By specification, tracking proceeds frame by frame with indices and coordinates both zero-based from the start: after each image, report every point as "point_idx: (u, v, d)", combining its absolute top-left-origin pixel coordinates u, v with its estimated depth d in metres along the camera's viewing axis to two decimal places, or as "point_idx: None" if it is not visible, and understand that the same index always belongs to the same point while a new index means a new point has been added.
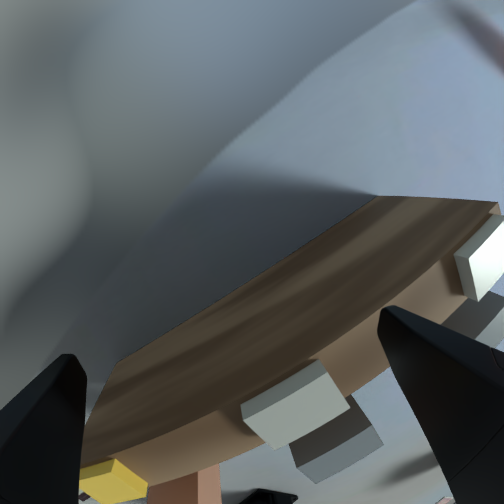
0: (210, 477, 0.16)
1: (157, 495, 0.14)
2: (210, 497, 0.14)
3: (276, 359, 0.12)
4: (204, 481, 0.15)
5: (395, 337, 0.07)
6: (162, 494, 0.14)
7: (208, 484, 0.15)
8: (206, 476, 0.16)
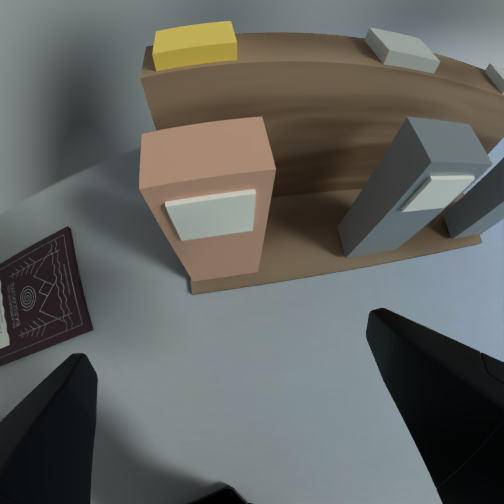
0: None
1: None
2: None
3: None
4: None
5: (383, 341, 0.07)
6: None
7: None
8: None
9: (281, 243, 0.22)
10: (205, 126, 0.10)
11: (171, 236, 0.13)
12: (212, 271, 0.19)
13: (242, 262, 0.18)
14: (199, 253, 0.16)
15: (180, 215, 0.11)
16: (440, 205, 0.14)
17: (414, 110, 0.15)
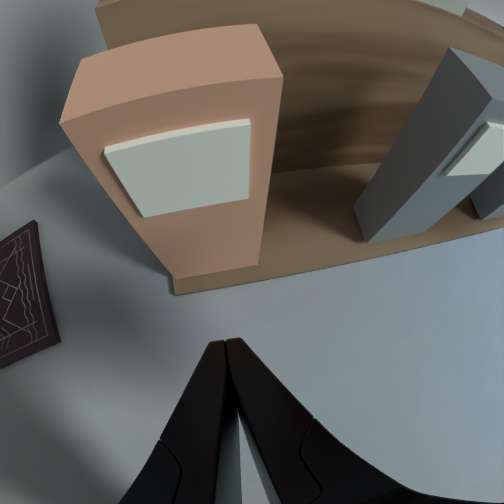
0: None
1: None
2: None
3: None
4: None
5: None
6: None
7: None
8: None
9: (285, 227, 0.18)
10: (171, 37, 0.06)
11: (129, 211, 0.08)
12: (198, 265, 0.14)
13: (237, 251, 0.14)
14: (175, 238, 0.11)
15: (131, 170, 0.06)
16: (487, 169, 0.09)
17: None
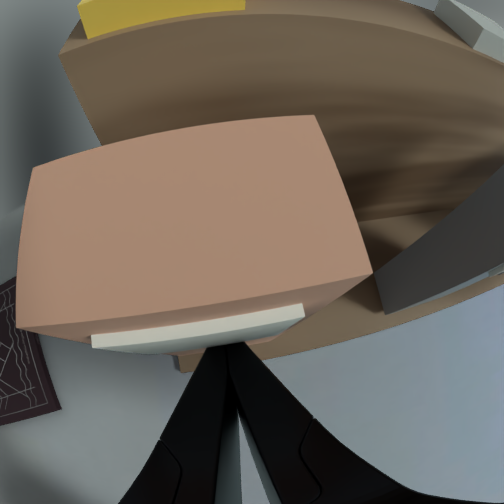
0: None
1: None
2: None
3: None
4: None
5: None
6: None
7: None
8: None
9: None
10: (172, 140, 0.04)
11: None
12: None
13: (251, 342, 0.12)
14: None
15: (132, 349, 0.05)
16: None
17: (489, 120, 0.09)
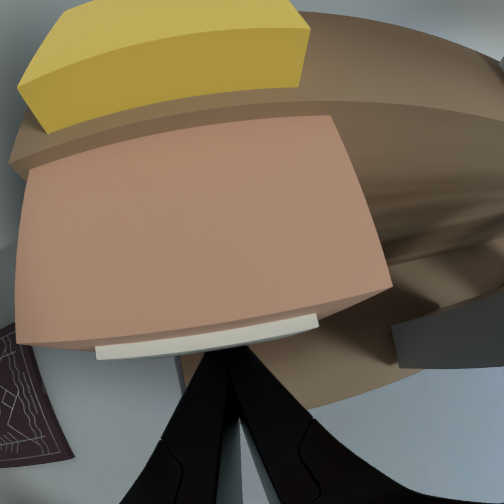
0: None
1: None
2: None
3: None
4: None
5: None
6: None
7: None
8: None
9: (316, 355, 0.15)
10: (179, 140, 0.04)
11: None
12: None
13: None
14: None
15: None
16: None
17: None
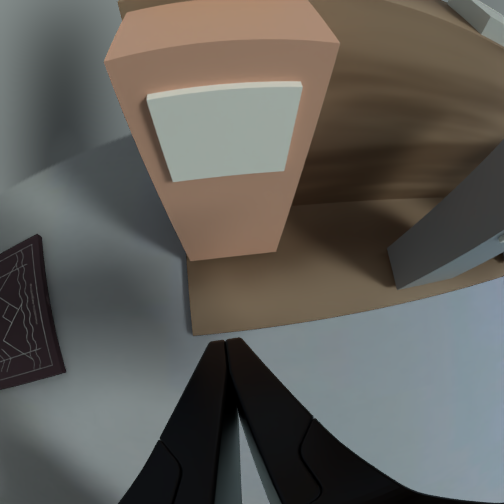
0: None
1: None
2: None
3: None
4: None
5: None
6: None
7: None
8: None
9: (315, 268, 0.16)
10: (223, 0, 0.05)
11: (157, 174, 0.08)
12: (216, 246, 0.14)
13: (258, 234, 0.13)
14: (199, 212, 0.11)
15: (171, 123, 0.06)
16: None
17: (498, 104, 0.09)
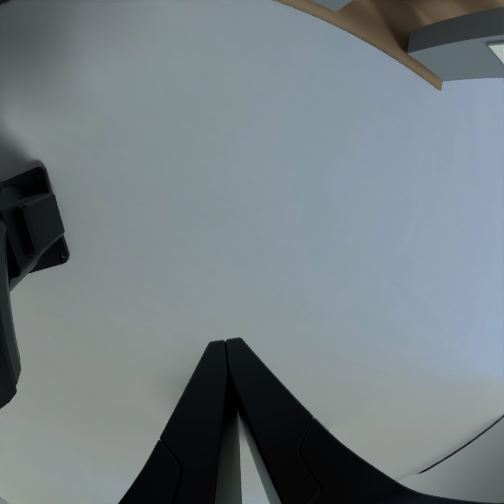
0: None
1: None
2: None
3: None
4: None
5: None
6: None
7: None
8: None
9: None
10: None
11: None
12: None
13: None
14: None
15: None
16: None
17: None
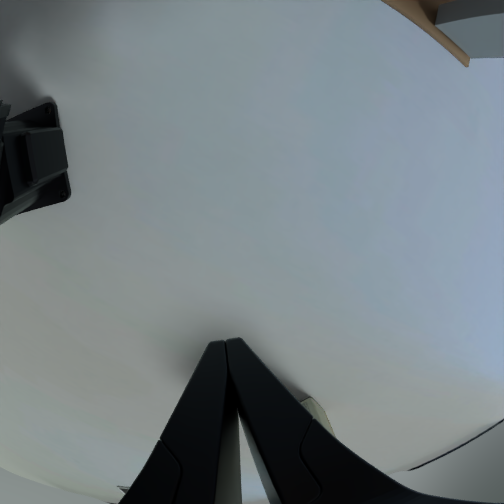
0: None
1: None
2: None
3: None
4: None
5: None
6: None
7: None
8: None
9: None
10: None
11: None
12: None
13: None
14: None
15: None
16: None
17: None
